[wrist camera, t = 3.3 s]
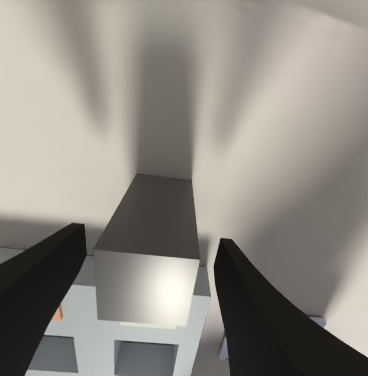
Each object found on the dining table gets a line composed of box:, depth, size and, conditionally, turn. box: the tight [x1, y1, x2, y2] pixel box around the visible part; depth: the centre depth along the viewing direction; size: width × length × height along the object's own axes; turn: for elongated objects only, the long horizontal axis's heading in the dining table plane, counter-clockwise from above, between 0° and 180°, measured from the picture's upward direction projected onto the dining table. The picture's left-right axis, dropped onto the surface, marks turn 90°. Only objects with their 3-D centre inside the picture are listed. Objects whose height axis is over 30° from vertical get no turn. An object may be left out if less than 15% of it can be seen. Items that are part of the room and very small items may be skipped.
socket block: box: [0, 247, 211, 376], centre depth 20 cm, size 18×16×3 cm
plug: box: [93, 174, 200, 327], centre depth 12 cm, size 4×4×8 cm
